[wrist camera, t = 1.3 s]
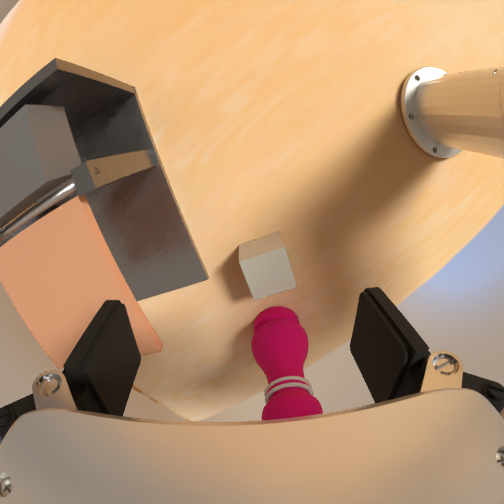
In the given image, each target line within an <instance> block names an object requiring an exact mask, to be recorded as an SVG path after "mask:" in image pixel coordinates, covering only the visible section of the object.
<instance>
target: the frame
mask: <svg viewBox="0 0 504 504" xmlns="http://www.w3.org/2000/svg"><path fill="white" fill-rule="evenodd" d="M25 104H27V105H48V106H62V107H64V109H65V113H66V116H67V120H68V123H69V127H70V130H71V133H72V136H73V139H74V142H75V145H76V148H77V151H78V154H79V157H80V160H81V163H82V164H80V165H79V166H77V167H75V168H74V169H72V170H71V171H70V173H71V175H72V178H70V179H69V180H67V181H66V182H64V183H62V184H61V185H59V186H58V187H56V188H55V189H53V190H52V191H50V192H49V193H47V194H46V195H44V196H43V197H42V198H40V199H39V200H37V203H38V204H37V205H35V206H34V207H32V208H31V209H30V210H28V211H27V212H26V213H24V214H23V215H21V216H20V217H19V218H18V219H16V220H15V221H14V222H12V223H11V224H10V225H8V226H6V227H4V228H2V229H1V230H0V247H1V246H2V245H4V244H5V243H6V242H8V241H9V240H10V239H12V238H13V237H15V236H16V235H17V234H19V233H20V232H22V231H23V230H24V229H26V228H27V227H29V226H30V225H32V224H33V223H35V222H36V221H38V220H39V219H41V218H42V217H44V216H45V215H47V214H48V213H50V212H52V211H53V210H55V209H56V208H58V207H60V206H61V205H63V204H65V203H66V202H68V201H70V200H71V199H73V198H75V197H76V196H78V195H79V196H80V197H82V196H84V195H85V196H86V199H87V201H88V204H89V206H90V208H91V211H92V213H93V215H94V218H95V220H96V222H97V224H98V226H99V229H100V231H101V233H102V235H103V237H104V239H105V242H106V244H107V246H108V248H109V250H110V252H111V254H112V256H113V258H114V260H115V262H116V264H117V266H118V268H119V270H120V272H121V273H122V275H123V277H124V279H125V281H126V283H127V285H128V286H129V288H130V290H131V292H132V294H133V295H134V297H135V299H136V301H139V300H142V299H146V298H149V297H152V296H155V295H159V294H162V293H165V292H168V291H172V290H175V289H178V288H181V287H185V286H188V285H191V284H194V283H198V282H201V281H204V280H207V279H208V277H209V276H208V273H207V271H206V269H205V267H204V264H203V262H202V260H201V258H200V255H199V253H198V251H197V248H196V246H195V244H194V241H193V239H192V237H191V234H190V232H189V230H188V227H187V225H186V223H185V220H184V218H183V215H182V213H181V210H180V208H179V206H178V203H177V201H176V198H175V196H174V193H173V191H172V188H171V186H170V183H169V181H168V178H167V175H166V173H165V170H164V168H163V165H162V162H161V160H160V157H159V155H158V152H157V149H156V146H155V144H154V141H153V138H152V136H151V133H150V130H149V127H148V125H147V122H146V119H145V116H144V113H143V110H142V107H141V105H140V102H139V99H138V96H137V93H136V90H135V87H133V86H130V85H128V84H126V83H123V82H121V81H118V80H116V79H113V78H111V77H108V76H106V75H103V74H100V73H98V72H95V71H92V70H90V69H87V68H84V67H81V66H78V65H75V64H72V63H69V62H66V61H63V60H60V59H57V58H55V59H54V60H52V61H51V62H50V63H48V64H47V65H46V66H45V67H43V68H42V69H41V70H40V71H38V72H37V73H36V74H35V75H34V76H33V77H31V78H30V79H29V80H28V81H27V82H26V83H25V84H23V85H22V86H21V87H20V88H19V89H18V90H17V91H16V92H15V93H14V94H13V95H12V96H11V97H10V98H9V99H8V100H7V101H6V102H5V103H4V104H3V105H2V106H1V107H0V128H1V127H2V126H3V125H4V124H5V123H6V122H7V121H8V120H9V119H10V118H11V117H12V116H13V115H14V114H15V113H17V112H18V111H19V110H20V109H21V108H22V107H23V106H24V105H25Z"/></svg>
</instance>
